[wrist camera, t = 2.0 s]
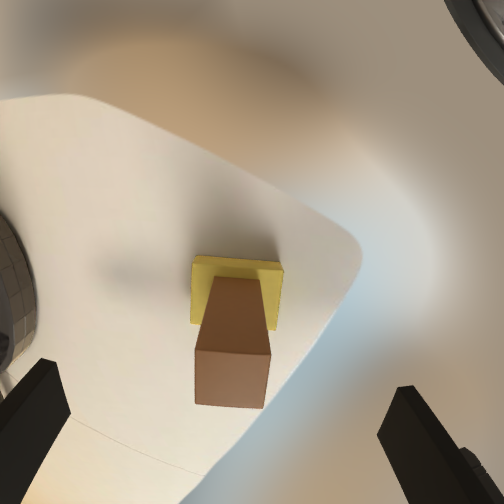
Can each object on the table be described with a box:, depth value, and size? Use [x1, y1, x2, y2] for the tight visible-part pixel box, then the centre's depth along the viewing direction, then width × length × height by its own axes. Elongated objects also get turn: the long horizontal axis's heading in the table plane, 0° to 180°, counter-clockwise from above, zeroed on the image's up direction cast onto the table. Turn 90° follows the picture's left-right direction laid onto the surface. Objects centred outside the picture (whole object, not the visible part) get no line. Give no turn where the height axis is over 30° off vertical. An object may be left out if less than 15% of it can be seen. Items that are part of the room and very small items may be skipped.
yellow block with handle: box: [190, 255, 284, 409], centre depth 17 cm, size 6×4×11 cm
